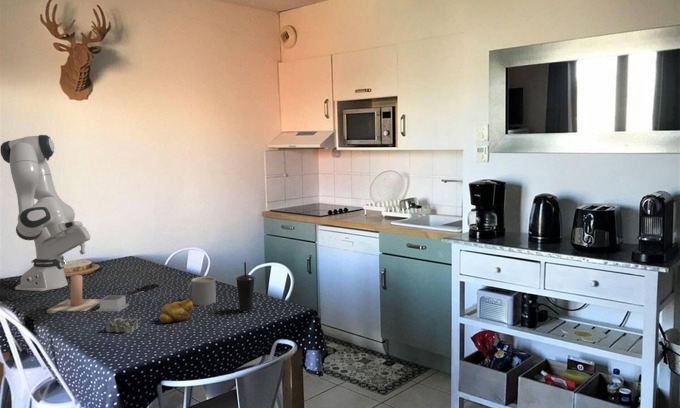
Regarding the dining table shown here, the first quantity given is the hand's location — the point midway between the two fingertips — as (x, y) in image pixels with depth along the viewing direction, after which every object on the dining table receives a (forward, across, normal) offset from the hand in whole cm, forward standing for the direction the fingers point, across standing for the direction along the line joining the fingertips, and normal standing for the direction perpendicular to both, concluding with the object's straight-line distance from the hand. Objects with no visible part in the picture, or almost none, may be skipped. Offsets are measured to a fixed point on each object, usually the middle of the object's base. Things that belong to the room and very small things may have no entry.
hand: (73, 259), depth 240 cm
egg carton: (+41, +20, -32) cm, 56 cm away
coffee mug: (+42, +40, +4) cm, 59 cm away
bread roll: (+46, +35, -20) cm, 61 cm away
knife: (+24, +12, +18) cm, 32 cm away
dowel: (+19, -4, -7) cm, 21 cm away
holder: (+29, +10, -9) cm, 32 cm away
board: (+20, -4, -6) cm, 22 cm away
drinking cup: (+55, +59, -8) cm, 81 cm away
